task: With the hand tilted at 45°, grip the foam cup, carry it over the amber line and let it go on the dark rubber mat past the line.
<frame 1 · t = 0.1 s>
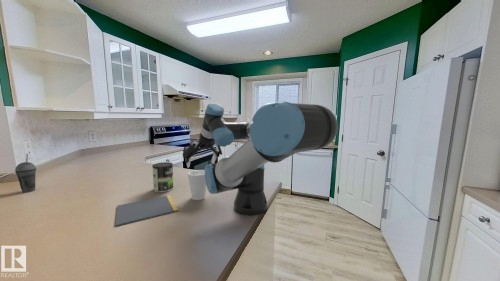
hand: (200, 164, 101), 15 cm above the worktop, tool tilted 35°, fingers open, 13 cm apart
beverage cup: (28, 191, 101), on the worktop
coffee can: (163, 189, 106), on the worktop
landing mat: (147, 208, 83), on the worktop
foam cup: (198, 197, 96), on the worktop
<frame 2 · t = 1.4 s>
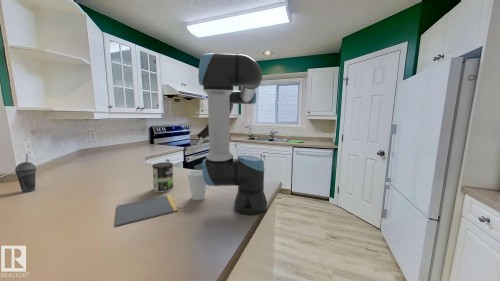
hand: (208, 148, 103), 23 cm above the worktop, tool tilted 45°, fingers open, 13 cm apart
nothing on the worktop moved.
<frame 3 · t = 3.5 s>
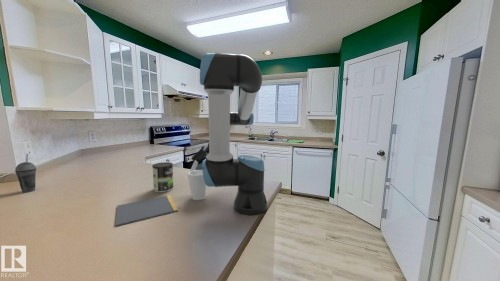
hand: (202, 173, 100), 11 cm above the worktop, tool tilted 45°, fingers open, 13 cm apart
nothing on the worktop moved.
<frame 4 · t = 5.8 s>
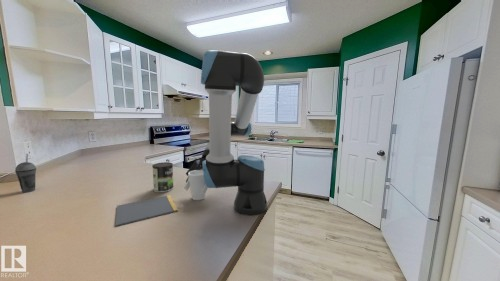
hand: (194, 190, 92), 5 cm above the worktop, tool tilted 45°, fingers closed on foam cup, 9 cm apart
foam cup: (198, 197, 96), on the worktop, touching gripper
everything else where it was.
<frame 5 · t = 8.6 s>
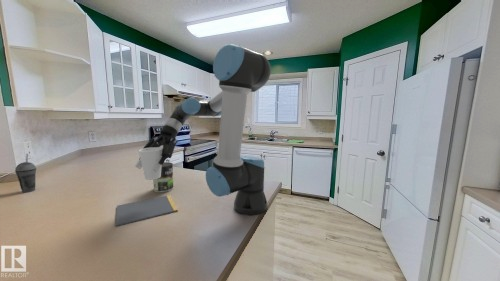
hand: (145, 169, 82), 18 cm above the worktop, tool tilted 45°, fingers closed on foam cup, 9 cm apart
foam cup: (153, 177, 86), point 13 cm above the worktop, touching gripper
everything else where it was.
when the fingers open (7 cm above the worktop, at t = 11.5 s): foam cup drops 1 cm, resting on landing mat.
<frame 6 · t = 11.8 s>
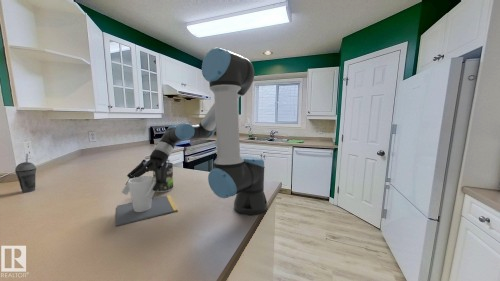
hand: (135, 195, 79), 8 cm above the worktop, tool tilted 45°, fingers open, 12 cm apart
foam cup: (142, 208, 82), resting on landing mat
everything else where it was.
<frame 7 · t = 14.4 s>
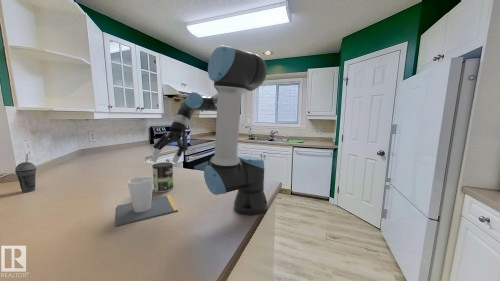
hand: (163, 162, 90), 19 cm above the worktop, tool tilted 35°, fingers open, 13 cm apart
nothing on the worktop moved.
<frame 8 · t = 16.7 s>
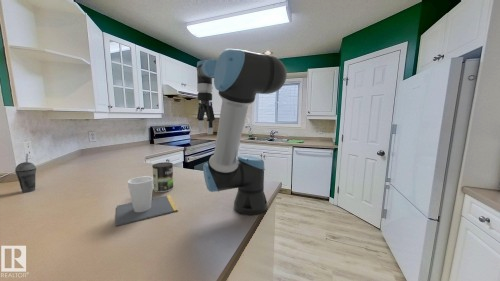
hand: (205, 133, 102), 32 cm above the worktop, tool pointing down, fingers open, 13 cm apart
nothing on the worktop moved.
at the end: foam cup inside the target area (1.5 cm from its centre), resting on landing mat; foam cup tilted 0°; the gripper is holding nothing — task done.
